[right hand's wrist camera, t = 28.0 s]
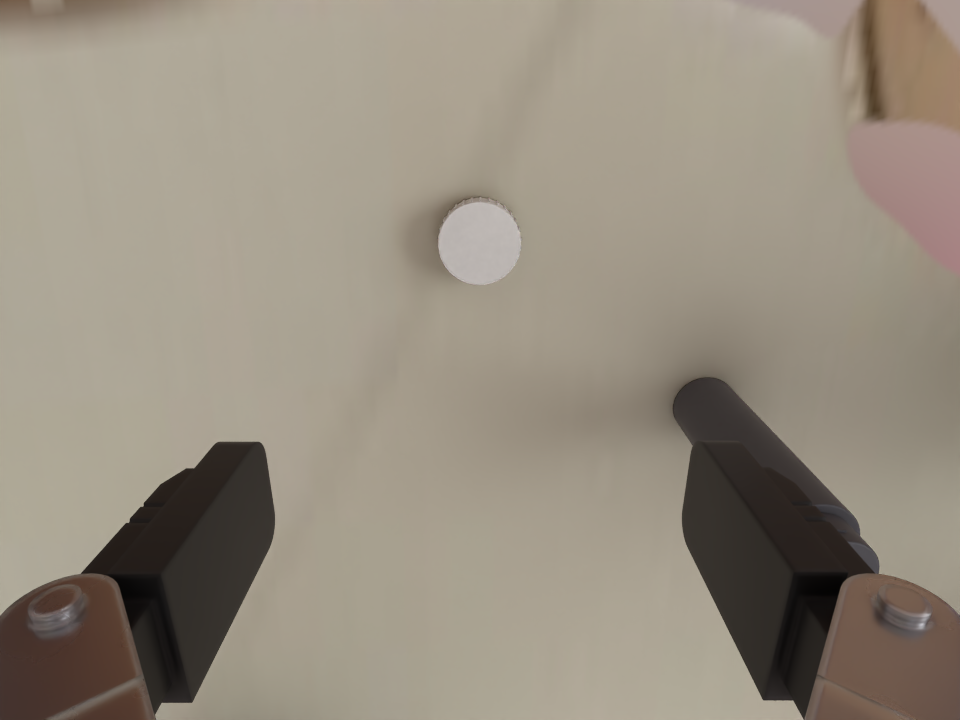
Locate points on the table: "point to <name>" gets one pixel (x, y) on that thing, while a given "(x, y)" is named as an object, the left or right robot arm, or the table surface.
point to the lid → (479, 241)
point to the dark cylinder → (760, 449)
